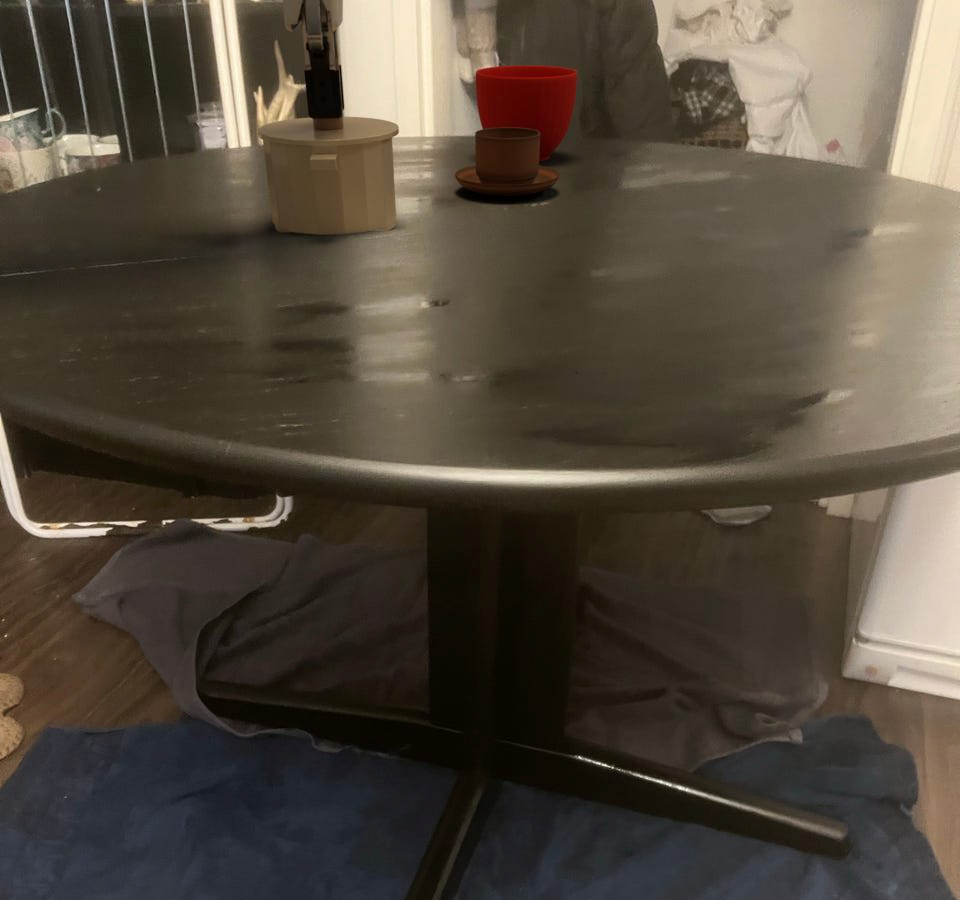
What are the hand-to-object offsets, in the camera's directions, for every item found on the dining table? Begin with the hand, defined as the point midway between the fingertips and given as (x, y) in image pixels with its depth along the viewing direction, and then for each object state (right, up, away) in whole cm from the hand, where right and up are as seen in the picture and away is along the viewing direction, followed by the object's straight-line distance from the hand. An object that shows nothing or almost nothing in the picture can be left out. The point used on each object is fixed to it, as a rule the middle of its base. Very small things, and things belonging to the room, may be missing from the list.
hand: (326, 112), depth 95 cm
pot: (0, -8, +6) cm, 10 cm away
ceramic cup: (+21, +14, +36) cm, 44 cm away
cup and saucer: (+18, +1, +18) cm, 26 cm away
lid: (0, -1, +1) cm, 2 cm away
